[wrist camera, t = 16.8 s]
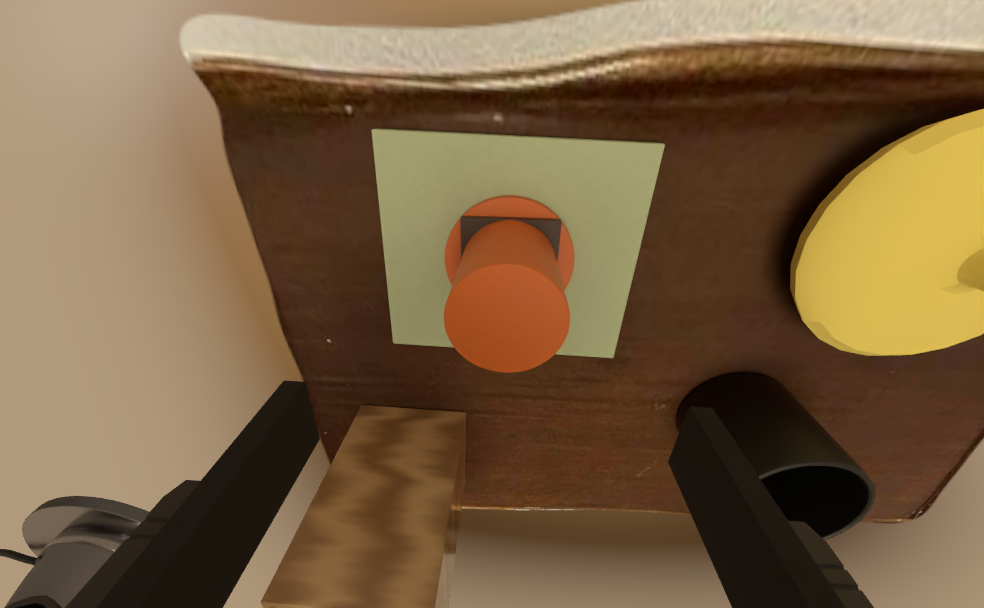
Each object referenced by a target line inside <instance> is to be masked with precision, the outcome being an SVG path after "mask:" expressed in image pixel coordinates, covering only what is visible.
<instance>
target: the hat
mask: <svg viewBox="0 0 984 608" xmlns="http://www.w3.org/2000/svg"><path fill="white" fill-rule="evenodd" d="M574 258H575V257H574V248H573V243H572V240H571V237H570V235H569V232H568V230H567V228H566V226H565V225H564V223H563V222H562V220H561V219H560V218H559V216H558V215H556V214H555V213H554V212H553V211H552V210H551V209H550V208H548V207H547V206H546V205H544V204H542V203H540V202H538V201H536V200H534V199H531V198H528V197H523V196H517V195H502V196H496V197H492V198H489V199H485V200H483V201H481V202H479V203H477V204H476V205H474V206H472V207H471V208H470V209H468V210H467V211H466V212H465V213H464V214H463V215H462V216H461V217H460V218H459V219H458V221H457V222H456V224H455V225H454V227H453V229H452V231H451V233H450V235H449V237H448V241H447V244H446V249H445V268H446V272H447V276H448V278H449V281H450V283H451V285H452V287H451V290H450V293H449V296H448V298H447V301H446V304H445V309H444V326H445V330H446V333H447V335H448V338H449V340H450V342H451V343H452V345H453V346H454V348H455V349H456V350H457V351H458V352H459V353H460V354H461V355H462V356H463V357H464V358H465V359H467V360H468V361H470V362H471V363H473V364H475V365H477V366H479V367H481V368H484V369H487V370H491V371H496V372H504V373H509V372H520V371H525V370H529V369H532V368H534V367H537V366H539V365H541V364H542V363H544V362H546V361H547V360H549V359H550V358H551V357H552V356H553V355H554V354H555V353H556V352H557V351H558V350H559V349H560V347H561V346H562V345H563V343H564V341H565V339H566V337H567V334H568V331H569V327H570V310H569V306H568V302H567V299H566V295H565V291H564V290H565V289H566V287H567V285H568V283H569V281H570V279H571V276H572V273H573V268H574Z"/></svg>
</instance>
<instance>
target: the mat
mask: <svg viewBox="0 0 984 608" xmlns="http://www.w3.org/2000/svg"><path fill="white" fill-rule="evenodd" d="M372 140H373V149H374V159H375V169H376V179H377V189H378V199H379V209H380V219H381V229H382V238H383V248H384V258H385V268H386V278H387V288H388V298H389V308H390V318H391V328H392V337H393V343H396V344H411V345H426V346H440V347H454V346H453V345H452V343H451V342H450V340H449V338H448V335H447V333H446V330H445V326H444V309H445V304H446V301H447V298H448V296H449V293H450V290H451V287H452V285H451V283H450V281H449V278H448V276H447V272H446V268H445V249H446V244H447V241H448V237H449V235H450V233H451V231H452V229H453V227H454V225H455V224H456V222H457V221H458V219H459V218H460V217H461V216H462V215H463V214H464V213H465V212H466V211H467V210H468V209H470V208H471V207H472V206H474V205H476V204H477V203H479V202H481V201H483V200H485V199H489V198H492V197H496V196H502V195H517V196H523V197H528V198H531V199H534V200H536V201H538V202H540V203H542V204H544V205H546V206H547V207H548V208H550V209H551V210H552V211H553V212H554V213H555V214H556V215H558V216H559V218H560V219H561V220H562V222H563V223H564V225H565V226H566V228H567V230H568V232H569V235H570V237H571V240H572V243H573V248H574V257H575V258H574V268H573V273H572V276H571V279H570V281H569V283H568V285H567V287H566V289H565V290H564V291H565V295H566V299H567V302H568V306H569V310H570V327H569V331H568V334H567V337H566V339H565V341H564V343H563V345H562V346H561V347H560V349H559V350H558V351H557V352H556V353H555V354H559V355H574V356H589V357H604V358H613V357H614V353H615V349H616V344H617V340H618V336H619V332H620V328H621V324H622V320H623V316H624V311H625V307H626V303H627V299H628V295H629V291H630V287H631V283H632V278H633V274H634V270H635V266H636V262H637V258H638V254H639V250H640V245H641V241H642V237H643V233H644V229H645V225H646V221H647V216H648V212H649V208H650V204H651V200H652V196H653V192H654V188H655V183H656V179H657V175H658V171H659V167H660V163H661V159H662V155H663V150H664V146H665V144H662V143H657V142H637V141H618V140H598V139H578V138H558V137H538V136H518V135H498V134H479V133H459V132H439V131H419V130H399V129H379V128H376V129H372Z"/></svg>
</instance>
